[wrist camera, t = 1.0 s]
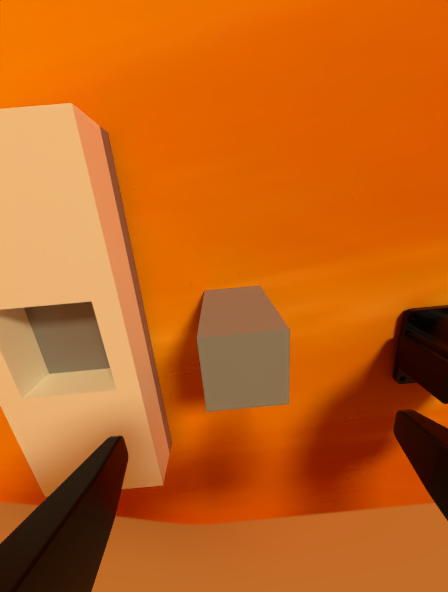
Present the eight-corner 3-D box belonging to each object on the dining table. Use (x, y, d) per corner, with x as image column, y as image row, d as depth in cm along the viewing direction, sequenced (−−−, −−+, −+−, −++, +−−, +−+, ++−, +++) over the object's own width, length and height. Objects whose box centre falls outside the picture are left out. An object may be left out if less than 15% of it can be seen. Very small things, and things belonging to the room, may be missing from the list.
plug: (259, 285, 16) (289, 329, 10) (261, 335, 18) (289, 404, 11) (204, 290, 16) (196, 337, 10) (210, 340, 18) (206, 412, 11)
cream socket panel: (107, 132, 13) (71, 102, 10) (171, 443, 21) (163, 485, 17) (-49, 146, 13) (-138, 120, 10) (71, 452, 21) (44, 496, 17)
